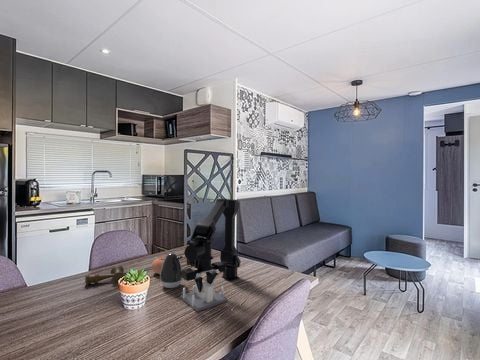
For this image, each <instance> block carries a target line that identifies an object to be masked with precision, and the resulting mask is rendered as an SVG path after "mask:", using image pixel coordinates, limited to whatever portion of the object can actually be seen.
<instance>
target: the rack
mask: <svg viewBox="0 0 480 360" xmlns="http://www.w3.org/2000/svg"><path fill="white" fill-rule="evenodd" d="M211 285H212V286H213V301H211V302H208V303H207V302H206V301H205V292H202V298H201V297H199V296H198V295H197V294H195V287H196V286H195V284H194V285H192V291H190V292H186V289H187V288H186V287H183V288H182V294H180V299H181V300H183V301H184V302H185V303H186V304H187V305H188V306H189V307H191V308H192V309H194V311H196V312H200V311H203V310H206V309H208V308H211V307H213V306H217V305H220V304H222V303H225V302H228V298H227V297H225V295H224V293H225V292H224V291H225V290H224V289H225V286H224V285H221V286H220V287H221V290H220V291H221V292H220V293H219V292H217V291H216V290H215V279H214V280H213V282H212V284H211Z"/></svg>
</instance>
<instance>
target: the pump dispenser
mask: <svg viewBox="0 0 480 360" xmlns="http://www.w3.org/2000/svg"><path fill="white" fill-rule="evenodd" d="M165 257H166V258H165V260H164V262H163V265H162V268H161V273H160V274H159V280H160V283H161V285H162V286H163V287H164V288H167V289H174V288H177V287H178V286H180V285H181V284H182V280H183V278H182V277H181V271H182V270H183V266H182V263H181V259H183V258H184V256H183V255H180V256H178V255H177V254H176V253H174V252H170V253H168V254H167V255H166V256H165Z"/></svg>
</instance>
